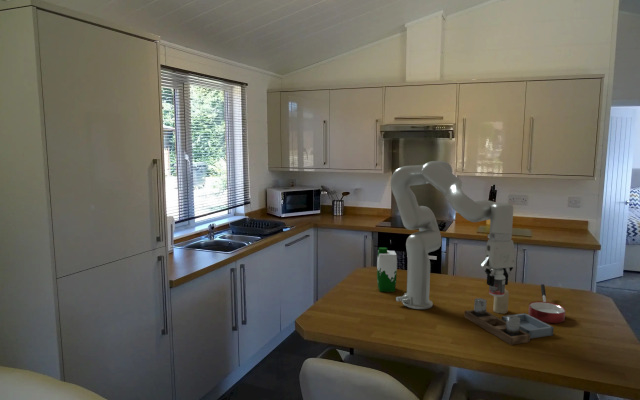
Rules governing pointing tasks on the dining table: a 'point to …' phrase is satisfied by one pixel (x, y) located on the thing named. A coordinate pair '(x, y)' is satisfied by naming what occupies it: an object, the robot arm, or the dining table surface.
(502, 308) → the candle
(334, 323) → the dining table surface
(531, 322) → the tray
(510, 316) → the peg
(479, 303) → the peg
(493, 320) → the socket rack
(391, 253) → the milk carton
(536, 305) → the frying pan
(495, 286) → the pill bottle
